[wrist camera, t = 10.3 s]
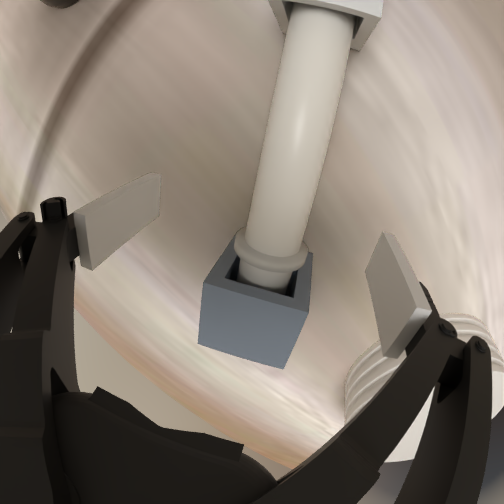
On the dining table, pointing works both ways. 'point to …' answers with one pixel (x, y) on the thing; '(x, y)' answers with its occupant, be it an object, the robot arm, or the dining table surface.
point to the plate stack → (381, 368)
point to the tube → (294, 146)
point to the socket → (252, 313)
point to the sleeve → (357, 3)
